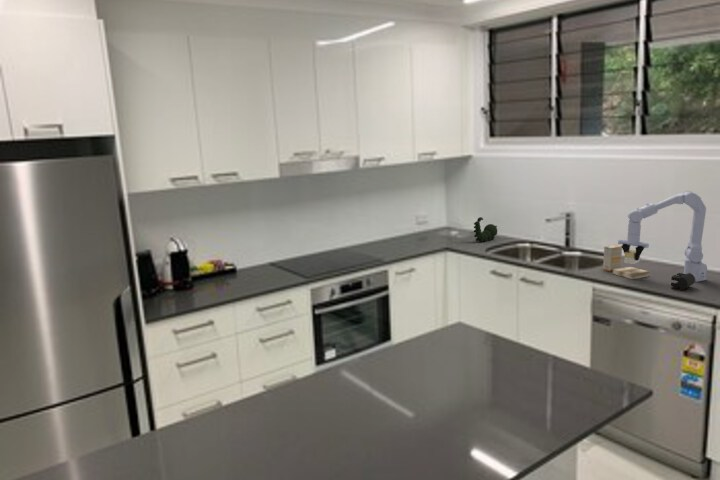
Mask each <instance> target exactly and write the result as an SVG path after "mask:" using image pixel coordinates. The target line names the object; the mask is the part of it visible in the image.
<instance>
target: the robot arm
mask: <svg viewBox="0 0 720 480" xmlns="http://www.w3.org/2000/svg"><path fill="white" fill-rule="evenodd" d="M676 204H678V205H684V204H685V205H686V206H688V207H689V208H690V209H692V210H693V215H692V222H691V230H690V237H689V242H688V243H687V247H686V249H685V250H684V255H685V259H684V265H683V274H688V273H691V274H692V275H693V276H694V277H695V282H696V283H697V282H702V281H707V280H708V278H707V273H708V266H707V264H705V263H704V262H702V260H703V258H704V254H703V245H702V240H703V233H704V228H705V227H704V226H705V219H706V212H707V207H706V205H705V203H704V201H703V200H702V198H701V196H699V195H698V194H697V193H694V192H693V191H690V190H685V191H683V192H679V193H676V194H674V195H672V196H670V197H668V198H666V199H664V200H661V201H658V203H652V202H651V203H649V202H648V203H646V205H644V206H642V207H638V208H636V209H633V210H631V211H629V213H628V215H627V217H628V226H627V238H626V240H625V239H624V240H623V239H619V240H617V241H618V243H617V245H621V246H622V252H623V254H624V255H625V252H627V251H630V250H631V249H630V248H631V246H632V247H635V251H636V260H639V257H640V258H641V254H642V252H643V251H644V250H645V249H648V248H649V246H650V243H648V242H647V243H646V242H642V241H640V240H641V226H642V225H641V222H642V220H643V219H646V218H649V217H651V216H654V215H656V214H658V212H659V210H663V209H664V208H667V207H669V206H672V205H676Z"/></svg>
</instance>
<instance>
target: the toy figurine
mask: <svg viewBox="0 0 720 480" xmlns="http://www.w3.org/2000/svg"><path fill="white" fill-rule="evenodd" d="M481 221H484V218H483V217H478V218H477V220H476V221H475V222H473V225H474V226H473V229H474V230H473V232H474V233H475V234H474V235H473V237H474V238H475V241H477V242H485V243H488V242H489V241H491V240H494V239H495V236H497V235H498V228H497V227H498V225H494V224H492V223H490V224H486V225H485V226H484V227H483V231H482V228H481V227H482V226H481V223H480V222H481Z"/></svg>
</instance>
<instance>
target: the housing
mask: <svg viewBox="0 0 720 480" xmlns="http://www.w3.org/2000/svg"><path fill="white" fill-rule="evenodd" d="M623 259H624V260H623V263H624V264H631V265H635V264H637V263H639V262H640V259H641V256H640V257H639V260H636V249H635V250H634V249H629V251H627V252H625V254H624V258H623Z"/></svg>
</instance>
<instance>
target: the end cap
mask: <svg viewBox="0 0 720 480" xmlns="http://www.w3.org/2000/svg"><path fill="white" fill-rule="evenodd" d="M670 280H671V281H674V282H671V283H670V289H671V290H677V291H682V290H686V289H687V288H689V287H691V286H692V285H694V284H695V282H696V281H695V277H694V276H693V275H692V274H691V273H688V274H684V273H680V272H678V273H676V274H674V275H672V276H671V279H670Z"/></svg>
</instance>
